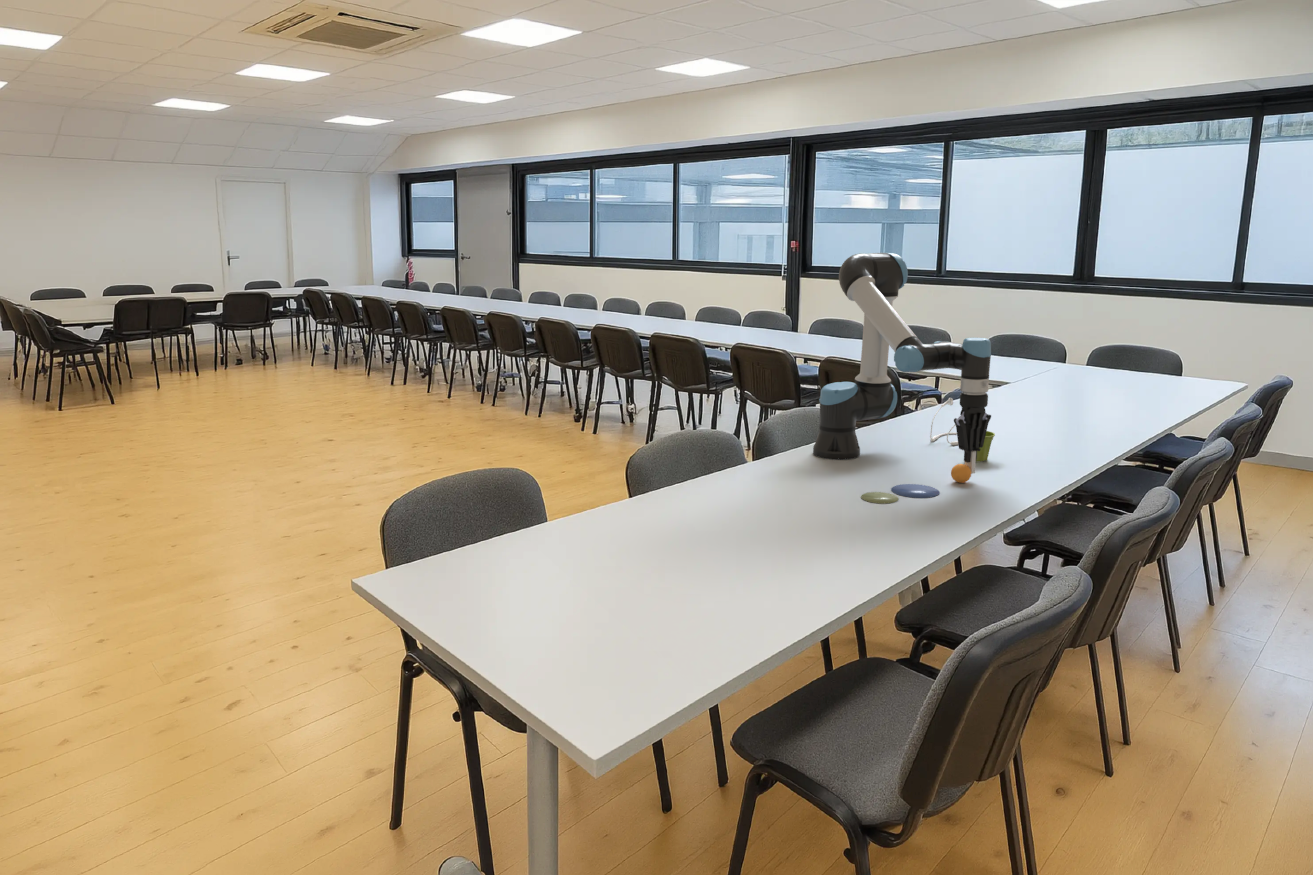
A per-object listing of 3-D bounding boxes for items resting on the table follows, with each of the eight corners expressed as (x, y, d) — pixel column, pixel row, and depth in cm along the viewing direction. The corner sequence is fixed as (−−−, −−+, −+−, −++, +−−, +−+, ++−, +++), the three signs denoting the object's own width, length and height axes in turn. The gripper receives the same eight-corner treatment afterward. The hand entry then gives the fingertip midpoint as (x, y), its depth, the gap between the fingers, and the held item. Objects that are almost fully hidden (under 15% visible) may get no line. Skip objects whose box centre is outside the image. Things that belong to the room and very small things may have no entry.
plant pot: (995, 463, 267) (997, 436, 265) (963, 462, 269) (965, 435, 267) (990, 456, 276) (992, 430, 274) (959, 455, 278) (961, 429, 276)
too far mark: (853, 496, 236) (853, 495, 236) (881, 490, 240) (881, 490, 240) (878, 505, 227) (878, 504, 227) (906, 500, 232) (906, 499, 232)
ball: (948, 482, 249) (945, 466, 247) (962, 475, 251) (959, 458, 249) (962, 488, 244) (960, 471, 242) (976, 480, 246) (974, 463, 244)
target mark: (881, 488, 242) (881, 488, 242) (915, 482, 248) (915, 481, 248) (914, 500, 231) (914, 499, 231) (949, 493, 237) (949, 492, 237)
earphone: (918, 431, 295) (942, 393, 301) (933, 461, 305) (956, 424, 311) (954, 437, 285) (978, 398, 291) (968, 468, 295) (991, 429, 301)
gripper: (968, 397, 237) (963, 478, 242) (1000, 392, 243) (995, 471, 248) (947, 393, 243) (943, 472, 248) (979, 388, 249) (974, 466, 254)
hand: (969, 472), depth 248 cm, fingers closed
